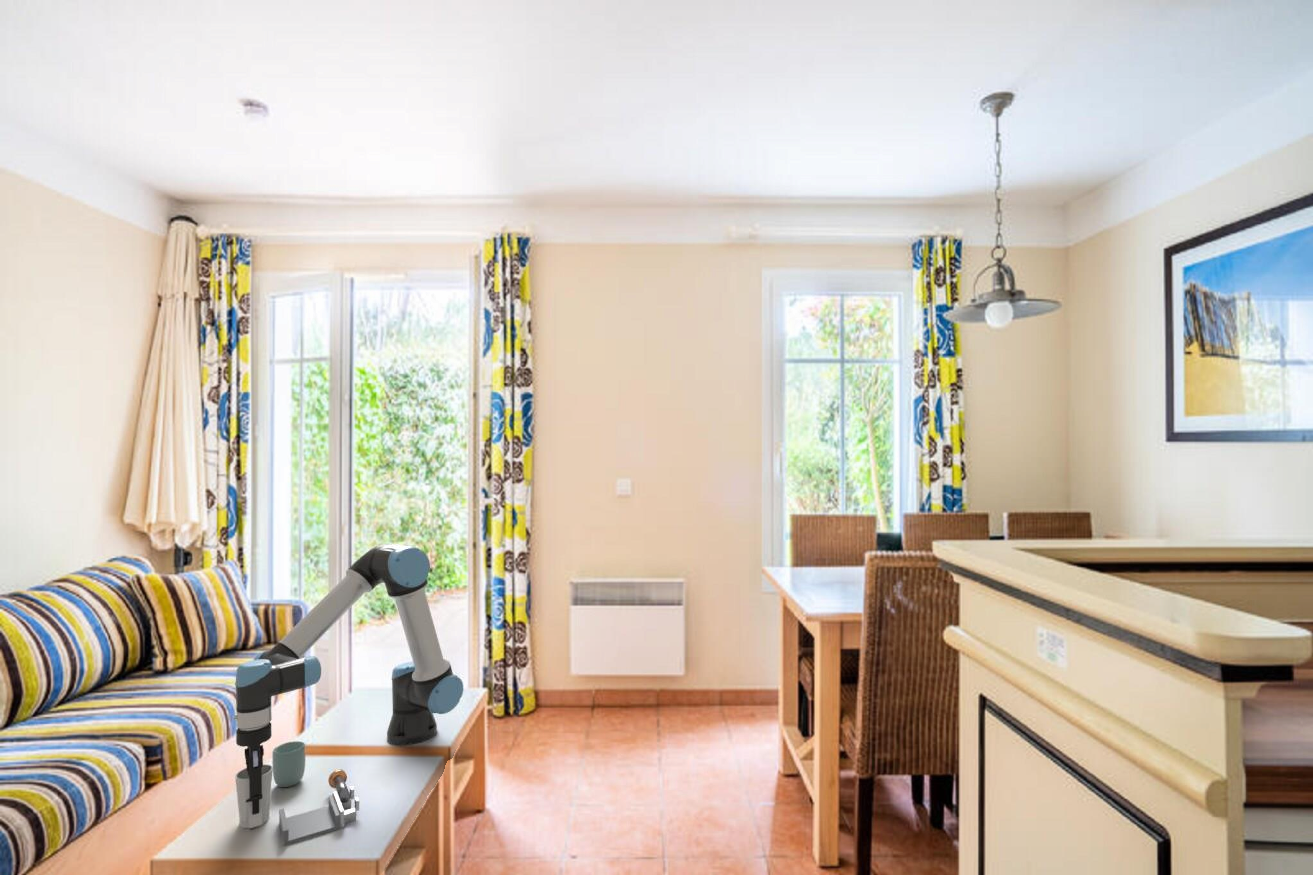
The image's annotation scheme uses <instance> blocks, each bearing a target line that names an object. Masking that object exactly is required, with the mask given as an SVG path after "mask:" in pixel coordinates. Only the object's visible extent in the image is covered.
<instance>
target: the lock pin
mask: <svg viewBox="0 0 1313 875" xmlns="http://www.w3.org/2000/svg"><path fill="white" fill-rule="evenodd" d="M345 771H346V770H345ZM345 771H344V770H343V769H337V770H334V771H332V772H331V774H329V777H328V782H327V783H328V785H329V787H330V788H333V789H335V791H337V794H338V796H339V799H340V801H341V802H342V803H346V802H348V801H349V800H350V797H351V796H350V790H349V789H348V786H347V784H346V782H347V780H348V775H347V772H345Z"/></svg>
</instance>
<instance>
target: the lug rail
mask: <svg viewBox="0 0 1313 875" xmlns="http://www.w3.org/2000/svg"><path fill="white" fill-rule="evenodd" d="M349 793H350V796H351V797H350V800H349V801H348V802H346V803H342V802H341V801H340V798H339V796H338V793H337V790H334V791H332V795H333V796H334V799H335V801H336V804H337V807H338V809H339V812H340V815H341V829H344V828H345V824H346V823H347V824H348V823H351V822H354V821H357V812H358V811H360V799H359V797H358V796H357V797H355V788H354V786H353V785H352V786H349ZM352 800H354V807H353V808H352Z"/></svg>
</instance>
